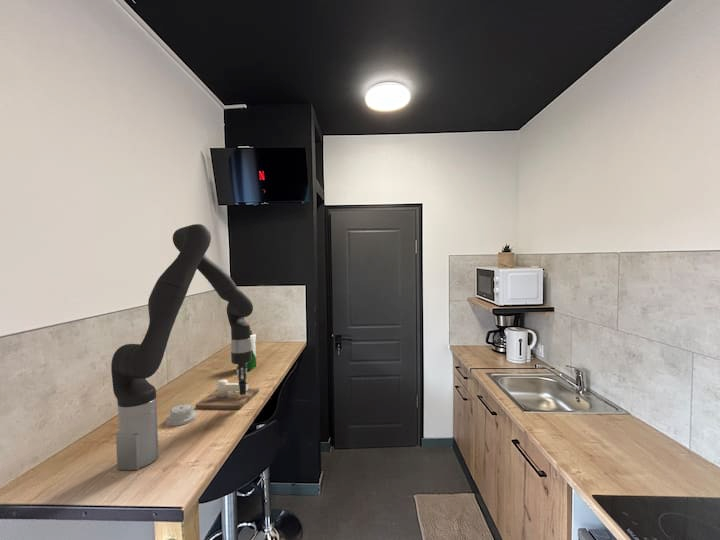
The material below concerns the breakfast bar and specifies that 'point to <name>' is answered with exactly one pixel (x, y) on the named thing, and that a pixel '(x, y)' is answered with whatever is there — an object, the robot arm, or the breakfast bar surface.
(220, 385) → the peg
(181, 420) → the mechanical component
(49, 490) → the breakfast bar surface
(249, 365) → the milk carton
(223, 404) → the board
